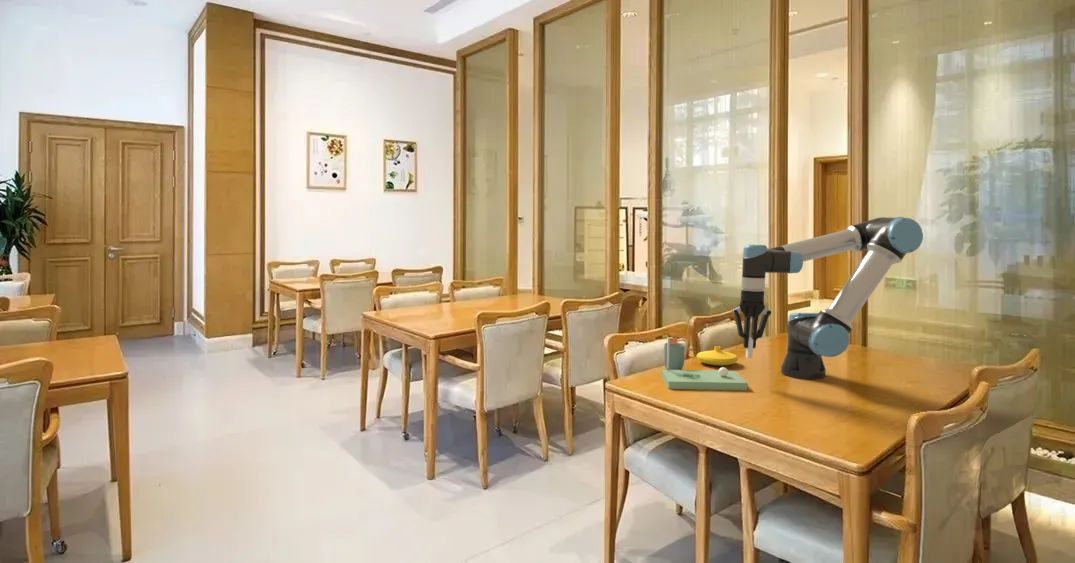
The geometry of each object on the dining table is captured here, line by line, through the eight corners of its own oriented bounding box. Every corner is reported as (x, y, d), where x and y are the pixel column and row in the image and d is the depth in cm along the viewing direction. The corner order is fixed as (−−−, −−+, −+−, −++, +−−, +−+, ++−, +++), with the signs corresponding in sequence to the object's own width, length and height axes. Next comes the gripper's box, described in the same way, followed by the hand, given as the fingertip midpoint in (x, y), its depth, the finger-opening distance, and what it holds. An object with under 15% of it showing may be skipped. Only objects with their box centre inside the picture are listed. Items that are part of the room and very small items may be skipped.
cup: (684, 373, 223) (685, 347, 221) (663, 372, 224) (664, 346, 223) (684, 368, 230) (684, 342, 229) (663, 367, 232) (664, 342, 231)
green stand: (734, 377, 217) (735, 338, 216) (746, 390, 201) (748, 347, 200) (661, 376, 218) (662, 337, 217) (668, 388, 203) (669, 346, 201)
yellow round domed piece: (743, 369, 230) (744, 351, 229) (702, 368, 230) (702, 350, 230) (730, 359, 246) (731, 342, 245) (692, 359, 246) (692, 342, 245)
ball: (726, 375, 211) (726, 366, 210) (728, 377, 208) (729, 368, 207) (717, 375, 211) (717, 366, 211) (719, 377, 208) (719, 368, 207)
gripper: (768, 288, 209) (764, 355, 211) (730, 288, 210) (727, 354, 212) (775, 291, 201) (771, 360, 204) (736, 290, 202) (732, 359, 205)
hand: (748, 357), depth 208 cm, fingers closed
